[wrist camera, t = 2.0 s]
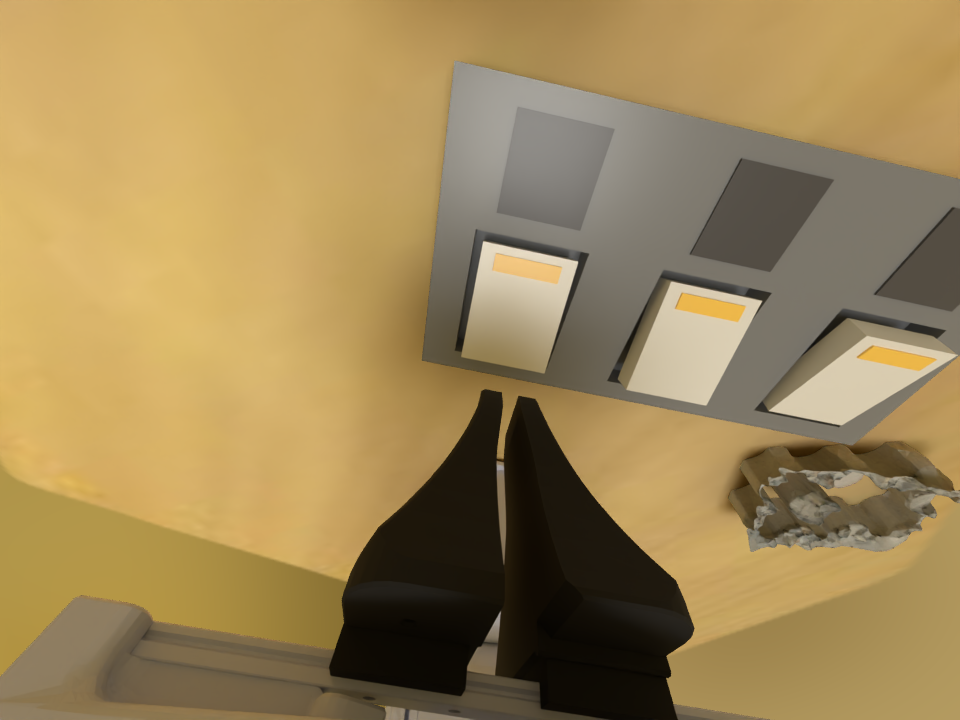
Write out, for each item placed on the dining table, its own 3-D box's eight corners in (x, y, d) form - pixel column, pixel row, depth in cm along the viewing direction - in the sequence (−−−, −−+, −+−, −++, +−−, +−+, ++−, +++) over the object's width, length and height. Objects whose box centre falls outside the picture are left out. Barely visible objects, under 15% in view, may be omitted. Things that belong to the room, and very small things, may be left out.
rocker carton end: (827, 407, 18) (842, 426, 17) (757, 393, 18) (769, 412, 17) (933, 336, 15) (960, 356, 14) (847, 317, 15) (868, 337, 14)
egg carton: (931, 435, 21) (1013, 492, 18) (868, 507, 25) (924, 565, 22) (747, 438, 22) (790, 492, 19) (715, 506, 26) (746, 561, 23)
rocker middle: (692, 393, 17) (707, 406, 16) (617, 378, 17) (626, 390, 16) (742, 295, 15) (764, 301, 14) (658, 276, 15) (672, 281, 14)
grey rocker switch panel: (820, 416, 20) (853, 446, 18) (430, 338, 20) (421, 361, 18) (1038, 206, 14) (1127, 218, 12) (462, 71, 13) (454, 60, 11)
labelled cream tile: (541, 363, 17) (544, 374, 16) (463, 347, 17) (460, 357, 16) (572, 258, 15) (579, 261, 14) (484, 239, 15) (483, 241, 14)
